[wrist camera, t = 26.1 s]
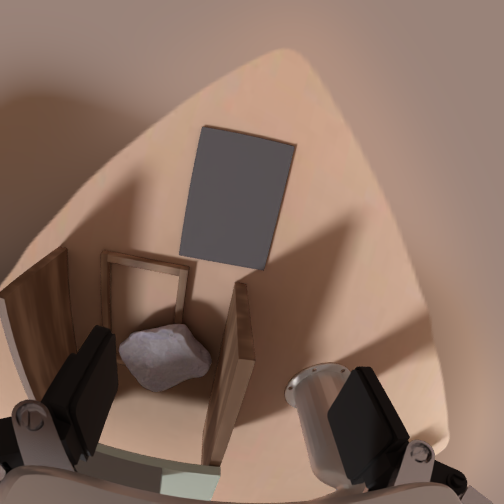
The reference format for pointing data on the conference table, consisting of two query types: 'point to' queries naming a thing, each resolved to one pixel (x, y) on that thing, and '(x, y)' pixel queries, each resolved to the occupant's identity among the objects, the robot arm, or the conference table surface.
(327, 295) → the conference table surface
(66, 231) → the conference table surface
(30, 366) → the well frame
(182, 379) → the stone block
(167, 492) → the lid
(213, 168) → the mat
